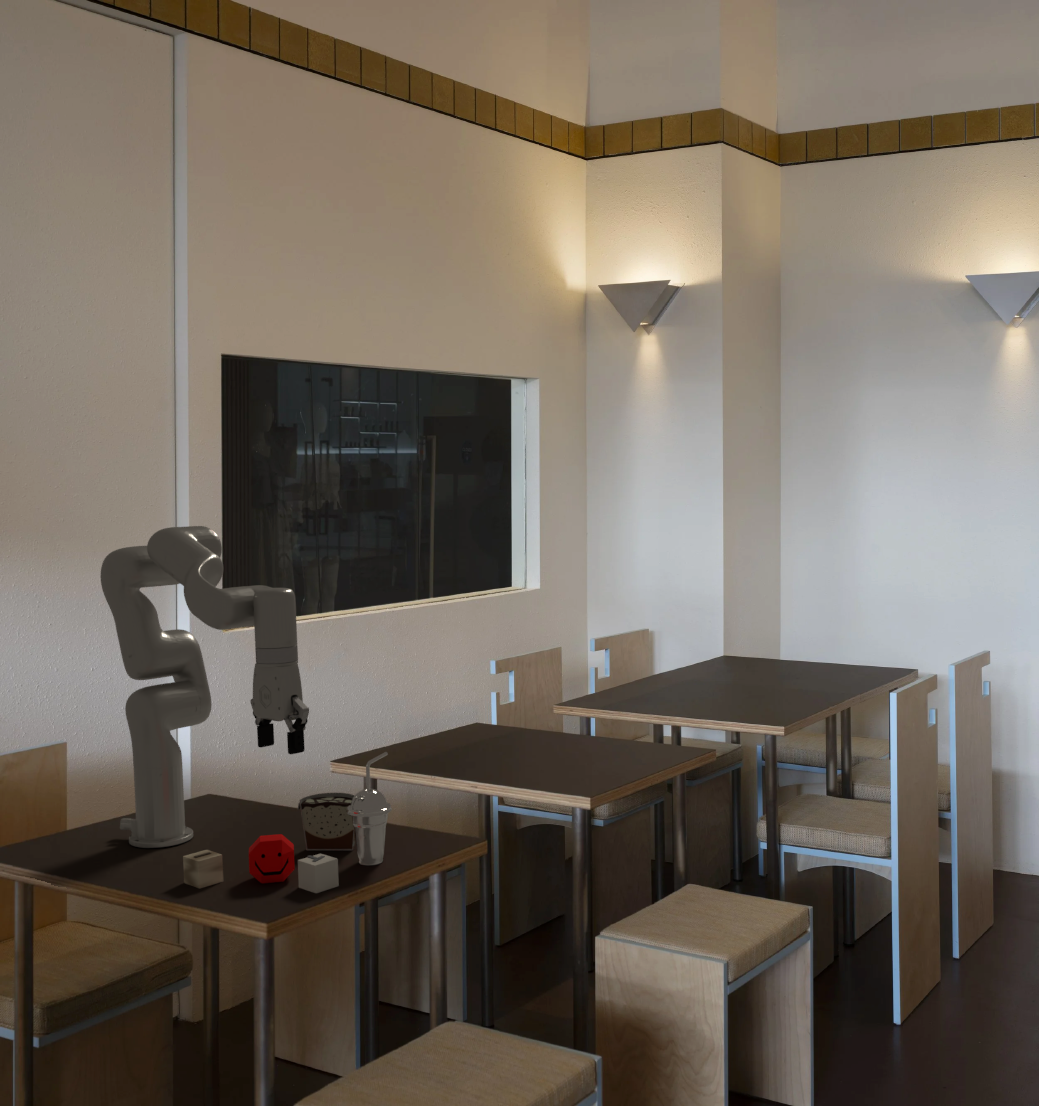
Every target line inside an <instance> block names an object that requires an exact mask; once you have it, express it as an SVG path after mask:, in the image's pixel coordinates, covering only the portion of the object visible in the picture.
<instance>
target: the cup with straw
mask: <svg viewBox="0 0 1039 1106" xmlns="http://www.w3.org/2000/svg"><path fill="white" fill-rule="evenodd" d="M388 755H389V754H388V752H387V751H385V752H383V753H381V754H379V755H377V756H375V757H373V758H372V759H369V760H368V761H367V763H366V764H365V776H366V777H365V779H366V788H364V789H362V790H360V791H357V793H355V794H354V795H355V796H354V797H353V799H352V802H351V805H349V806H348V807H347V811H346V812H347V814H349V815H351V821H352V824H353V827H354V832H355V845H356V846H355V847H356V851H357V857H358V860H359V861H358V863H359V864H360V865H362V866H377V865H380V864H381V863H384V859H383V858H384V856H385V855H384V854H385V843H386V842H385V841H386V829H387V828H386V826H387V823H388V819H389V818H388V817H389V813H391V812H392V810H393V808H392V805H391V804H390V803H389V802H388V801H387V798H386V797H385V795H384V794H383V792H381V791H380V790H378V789H374V788H371V773H370V772H371V771H370V769H371V767H370V766H371V765H372V764H374V763H375V762H377V761H379V760H380V759H382V758H385V757H386V756H388Z"/></svg>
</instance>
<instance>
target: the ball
mask: <svg viewBox="0 0 1039 1106" xmlns="http://www.w3.org/2000/svg"><path fill="white" fill-rule="evenodd" d="M295 865H296V864H295V845H294V843H293V842H292V841H290V839H288V838H287V837H286V836H285V835H283V834H281V833H280V834H279V833H278V834H267V835H264V834H263V835H259V837H258V838H257V839H256V840H255V841H254V842H253V843H252V844H251V845H250V846H249V847H248V870H249V874H250V875H251V876H252V877H253V878H255V880H257V881H258V882H259V883H260V884H271V883H283V882H285V881H286V879H287V878H288V877H290V875H291V874H292V873H293V872H294V871H295V869H296V868H295Z"/></svg>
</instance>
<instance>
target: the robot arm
mask: <svg viewBox="0 0 1039 1106" xmlns="http://www.w3.org/2000/svg"><path fill="white" fill-rule="evenodd" d="M222 550H223V547H222V542H221V539H220V537H219V535H218V533H216V532H215V531H214V530H213V529H212V528H210V527H208V526H204V525H193V526H192V525H191V526H176V527H175V526H173V527H171V526H170V527H165V528H162V529H160V530H157V531H156V532H154V533H153V534H152V535H151V536H150V537H149V539H148V542H147V544H146V545H137V546H135V545H134V546H127V547H122V548H118V549H116V550H113V551H111V552H110V553H108V555H106V556H105V558H104V559H103V561H102V564H101V567H100V585H101V589H102V592H103V595H104V598H105V601H106V603H107V605H108V607H109V609H110V612H111V614H112V617H113V620H114V625H115V631H116V636H117V640H118V643H119V649H120V653H121V659H122V661H123V662H122V663H123V666H124V669H125V671H126V674H127V676H128V677H129V678H131V679H132V680H135V681H148V680H155V679H161V678H168V677H172V678H173V681H174V682H166V683H159V684H154V685H153V684H152V685H149V686H143V687H142V688H138V689H137V690H135V691H133V692H132V693H131V694H130V695H129V696H128V698H127V700H126V702H125V709H124V710H125V717H126V722H127V726H128V729H129V734H130V740H131V749H132V762H133V763H132V764H133V781H134V783H133V784H134V786H133V787H134V802H135V803H134V804H135V805H134V807H135V818H131V817H126V818H125V817H123V818H121V819H120V822H119V823H120V824H119V829H120V830H121V831H128V830H129V831H131V834H130V835H129V837H128V843H129V845H131V846H132V847H136V848H140V849H141V848H142V849H155V848H158V849H159V848H165V847H166V848H168V847H171V846H172V847H173V846H177V845H181V844H184V843H186V842H189V841H190V840H191V839H192V838H193V837H194V830H193V829H192V828H191V827H188V826H186V821H185V820H186V817H185V816H186V815H185V795H184V774H183V771H184V770H183V755H182V750H181V748H180V747H181V746H180V745H179V744H178V742H177V740H176V739H175V738H174V737H173V735H172V733H171V731H173V730H177V729H183V728H186V727H192V726H196V725H200V724H202V723H204V722H205V721H206V720H208V719H209V718H210V717H209V716H210V714H211V713H212V712H211V711H212V695H211V691H210V684H209V681H208V677H207V672H206V671H207V670H206V667H205V661H204V658H203V654H202V653H203V652H202V650H201V647H200V644H199V642H198V640H197V639H196V637H195V636H194V634H192V633H191V632H190V631H187V630H184V629H179V628H176V629H169V630H168V629H167V630H164V629H162V628H161V625H160V620H159V615H158V612H157V611H158V610H157V609H156V607H155V605H154V604H153V602H152V601H151V600H150V599H149V597H148V596H146V594H145V593H143V592H141V590H140V589H141V588H155V587H163V586H174V585H181V586H183V596H184V600H185V603H186V607H187V608H188V610H189V611H190V612H191V614H192V615H193V616H194V617H195V618H197V619H198V620H200V621H201V622H202V623H204V624H205V625H206V626H208V627H210V628H212V629H215V630H219V631H220V630H221V631H226V630H227V631H228V630H234V629H241V628H249V627H254V648H255V663H254V667H253V676H252V677H253V678H252V698H251V699H250V700H249V701H250V705H251V709H252V715H253V717H254V719H255V720H254V723H255V726H256V729H257V730H256V732H257V734H256V735H257V748H264V747H271V746H274V745H275V732H274V730H275V729H274V723H273V722H272V721H275V722H282V721H284V722H285V724H286V727H287V728H288V731H287V732H286V736H287V737H286V738H287V739H286V740H287V753H288V755H295V754H299V753H304V752H305V751H306V750H305V730H306V728H307V727H306V725H307V724H308V718H309V713H310V709H309V707H308V706H307V704H306V703H304V701H303V700H304V699H303V698H304V697H303V688H302V687H303V686H302V680H301V679H302V678H301V673H300V669H299V668H300V667H299V651H298V649H299V648H298V631H297V629H298V628H297V604H296V595H295V592H294V590H293V589H292V588H287V587H272V586H268V585H262V584H260V585H259V584H258V585H247V586H246V585H244V586H233V587H225V588H218V587H217V585H219V583H220V582H221V580H222V577H223V575H224V564H223V563H224V562H223V560H222V559H221V556H222ZM293 721H294V722H293Z"/></svg>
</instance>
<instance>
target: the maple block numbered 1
mask: <svg viewBox="0 0 1039 1106" xmlns="http://www.w3.org/2000/svg"><path fill="white" fill-rule="evenodd" d="M182 861H183V862H182V865H183V883H184V884H186V885H189V886H192V887H194V888H197V889H203V888H206V887H209V886H212V885H216V884H219V883H223V882H224V870H223V869H224V867H223V866H224V864H223V854H221V853H218V852H215V851H212V850H210V849H204V850H200V851H197V852H193V853H190V854H186V855H183V856H182Z"/></svg>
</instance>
